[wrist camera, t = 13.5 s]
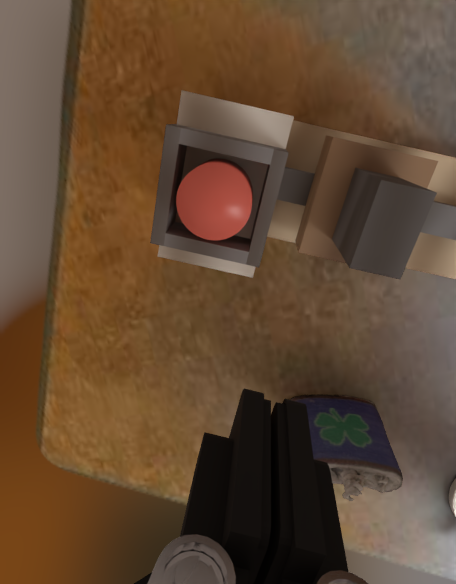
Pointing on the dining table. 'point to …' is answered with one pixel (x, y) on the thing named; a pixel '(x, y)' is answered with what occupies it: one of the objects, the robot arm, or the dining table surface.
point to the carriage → (366, 206)
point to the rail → (275, 184)
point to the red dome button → (215, 199)
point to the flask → (351, 443)
